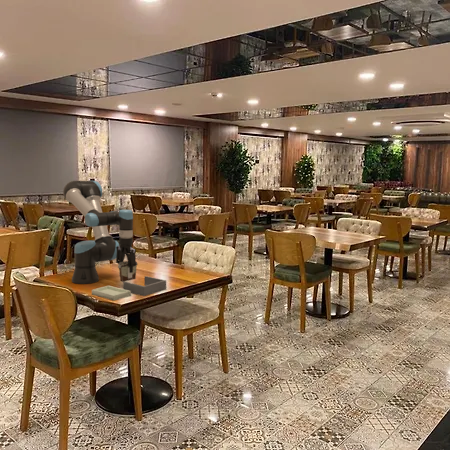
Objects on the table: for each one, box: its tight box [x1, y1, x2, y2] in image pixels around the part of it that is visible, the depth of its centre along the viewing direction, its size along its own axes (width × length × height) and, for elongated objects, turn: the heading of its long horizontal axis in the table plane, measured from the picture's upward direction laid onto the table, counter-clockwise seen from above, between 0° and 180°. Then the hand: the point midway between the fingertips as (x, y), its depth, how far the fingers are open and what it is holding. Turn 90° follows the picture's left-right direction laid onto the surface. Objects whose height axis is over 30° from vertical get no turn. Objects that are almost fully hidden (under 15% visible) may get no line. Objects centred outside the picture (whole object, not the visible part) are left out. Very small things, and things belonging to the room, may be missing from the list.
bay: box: [122, 275, 167, 297], centre depth 242 cm, size 16×17×5 cm
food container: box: [117, 260, 139, 283], centre depth 250 cm, size 12×6×10 cm, turn 141°
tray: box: [91, 285, 132, 301], centre depth 231 cm, size 17×11×2 cm, turn 56°
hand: (125, 276), depth 250 cm, fingers closed on food container, 6 cm apart
